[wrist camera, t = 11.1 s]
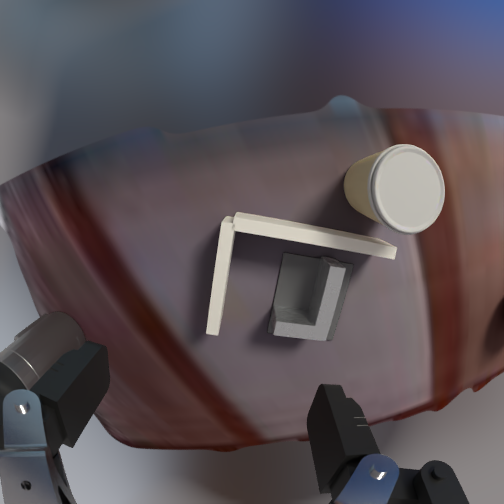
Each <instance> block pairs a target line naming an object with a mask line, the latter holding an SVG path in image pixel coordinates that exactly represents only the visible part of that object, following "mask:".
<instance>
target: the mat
mask: <svg viewBox="0 0 504 504" xmlns="http://www.w3.org/2000/svg"><path fill="white" fill-rule="evenodd" d="M320 260H321V259H320V258H314V257H308V256H302V255H296V254H290V253H284V254H283V259H282V264H281V269H280V274H279V279H278V283H277V288H276V293H275V298H274V302H273V307H272V312H273V308H274V305H275V306H282V307H289V308H296V309H303V310H309V306H310V302H311V298H312V294H313V290H314V286H315V281H316V277H317V273H318V268H319V264H320ZM339 263H340V264H342V265H343V266H344V267H345V268H346V270H345V274H344V278H343V282H342V286H341V289H340V293H339V297H338V301H337V304H336V308H335V311H334V315H333V318H332V322H331V325H330V329H329V332H328V335H327V338H326V340H332V339H333V336H334V333H335V330H336V326H337V323H338V320H339V316H340V313H341V310H342V306H343V303H344V299H345V296H346V292H347V288H348V285H349V281H350V277H351V273H352V269H353V264H349V263H343V262H339ZM272 312H271V316H270V321H269V326H268V330H267V333H273V328H272V320H271V317H272Z"/></svg>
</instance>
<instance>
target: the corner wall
mask: <svg viewBox="0 0 504 504" xmlns="http://www.w3.org/2000/svg"><path fill="white" fill-rule="evenodd" d="M236 231H239V232H245V233H251V234H256V235H262V236H268V237H274V238H280V239H286V240H291V241H297V242H303V243H308V244H314V245H319V246H325V247H330V248H336V249H341V250H347V251H352V252H358V253H363V254H368V255H374V256H379V257H384V258H389V259H395V255H396V251H397V247H395V246H393V245H391V244H389V243H387V242H385V241H383V240H381V239H378V238H373V237H369V236H364V235H359V234H354V233H349V232H344V231H339V230H334V229H329V228H324V227H319V226H314V225H308V224H303V223H298V222H292V221H287V220H281V219H276V218H270V217H264V216H258V215H253V214H247V213H241V212H237V213H236V214H235V216H234V217H230V216H226V217H225V218H224V220H223V221H222V223H221V230H220V236H219V243H218V250H217V256H216V263H215V270H214V277H213V285H212V292H211V299H210V307H209V315H208V323H207V331H206V334H211V335H217V336H218V333H219V329H220V324H221V320H222V315H223V308H224V302H225V295H226V289H227V282H228V276H229V269H230V263H231V257H232V251H233V244H234V238H235V232H236Z"/></svg>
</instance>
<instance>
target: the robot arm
mask: <svg viewBox="0 0 504 504" xmlns="http://www.w3.org/2000/svg"><path fill="white" fill-rule="evenodd" d="M14 340H15V341H14V342H13V343H12V344H10V345H9V346H8V347H7V348H6V349H4V350H3V351H2V352H1V353H0V478H1V485H2V491H3V497H4V503H5V504H77V503H76V501H75V499H74V497H73V495H72V492H71V489H70V486H69V483H68V480H67V477H66V473H65V470H64V466H63V463H62V459H61V455H60V452H59V448H60V446H61V445H62V444H65V445H67V446H69V447H71V448H73V447H74V445H75V443H76V441H77V440H78V438H79V436H80V435H81V433H82V431H83V430H84V428H85V426H86V425H87V423H88V421H89V420H90V418H91V416H92V415H93V413H94V412H95V410H96V408H97V407H98V405H99V404H100V402H101V400H102V399H103V397H104V396H105V394H106V392H107V390H108V388H109V383H110V373H109V363H108V351H107V347H106V346H104V345H101V344H98V343H94V342H91V341H85V337H84V334H83V332H82V330H81V328H80V327H79V325H78V324H77V323H76V322H75V321H74V319H72V318H71V317H70V316H69V315H67V314H65V313H62V312H53V313H51V314H49V315H47V314H44V315H43V316H41V317H40V318H39V319H37V320H36V321H35V322H33V323H32V324H30V325H29V326H28V327H26V328H25V329H24V330H22V331H21V332H20V333H18V334H17V335H16V336H15V338H14ZM364 417H365V416H364V414H363V411H362V409H361V407H360V406H359V405H358V404H357V403H356V402H355V401H354V400H353V399H352V398H346V396H345V393H344V391H343V389H342V386H341V385H330V384H321V385H320V386H319V387H318V390H317V392H316V395H315V397H314V400H313V403H312V405H311V408H310V410H309V413H308V417H307V430H308V435H309V440H310V445H311V450H312V455H313V460H314V465H315V470H316V475H317V481H318V486H319V491H320V494H322V493H331V496H332V500H331V501H330V502H329V504H469V502H468V500H467V498H466V495H465V494H464V491H463V489H462V487H461V485H460V483H459V481H458V479H457V477H456V475H455V473H454V471H453V469H452V468H451V467H450V466H449V465H447V464H446V463H444V462H442V461H436V460H434V461H429V462H427V463H426V464H425V465H424V466H423V467H422V468H421V469H420V470H413V469H403V468H399V467H398V465H397V464H396V462H395V461H394V460H393V459H391V458H390V457H388V456H386V455H382V454H380V451H379V449H378V447H377V444H376V442H375V439H374V437H373V435H372V432H371V430H370V427H369V426H368V423H367V421H366V418H364Z"/></svg>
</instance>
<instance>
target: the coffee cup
mask: <svg viewBox="0 0 504 504" xmlns="http://www.w3.org/2000/svg"><path fill="white" fill-rule="evenodd" d="M344 192H345V196H346V198H347V200H348V202H349V204H350V205H351V206H352V207H353V208H354V209H355V210H356V211H358V212H360V213H361V214H363V215H365V216H367V217H369V218H371V219H372V220H374V221H376V222H378V223H380V224H382V225H384V226H385V227H386V228H388V229H389V230H391V231H393V232H396V233H399V234H404V235H411V234H416V233H419V232H421V231H423V230H425V229H426V228H428V227H429V226H430V225H431V224H432V223H433V222H434V221H435V220H436V219H437V217H438V216H439V214H440V212H441V209H442V206H443V202H444V196H445V187H444V181H443V177H442V173H441V171H440V169H439V167H438V165H437V164H436V162H435V161H434V160H433V158H432V157H431V156H430V155H428V154H427V153H426V152H425V151H423V150H422V149H420V148H418V147H416V146H413V145H407V144H400V145H395V146H392V147H390V148H388V149H386V150H384V151H382V152H379V153H376V154H374V155H371V156H369V157H366V158H364V159H361V160H359V161H357V162H356V163H354V164H353V165H352V166H351V167H350V168H349V170H348V171H347V173H346V176H345V179H344Z"/></svg>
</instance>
